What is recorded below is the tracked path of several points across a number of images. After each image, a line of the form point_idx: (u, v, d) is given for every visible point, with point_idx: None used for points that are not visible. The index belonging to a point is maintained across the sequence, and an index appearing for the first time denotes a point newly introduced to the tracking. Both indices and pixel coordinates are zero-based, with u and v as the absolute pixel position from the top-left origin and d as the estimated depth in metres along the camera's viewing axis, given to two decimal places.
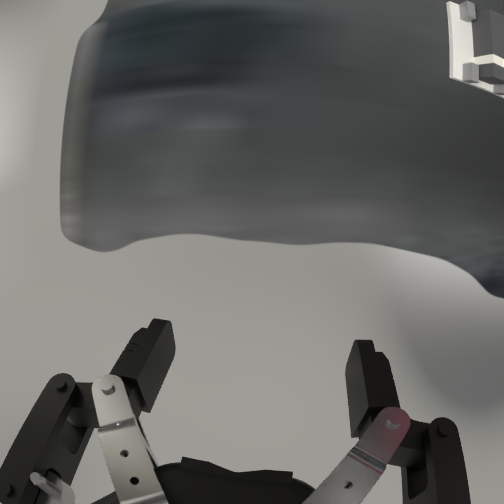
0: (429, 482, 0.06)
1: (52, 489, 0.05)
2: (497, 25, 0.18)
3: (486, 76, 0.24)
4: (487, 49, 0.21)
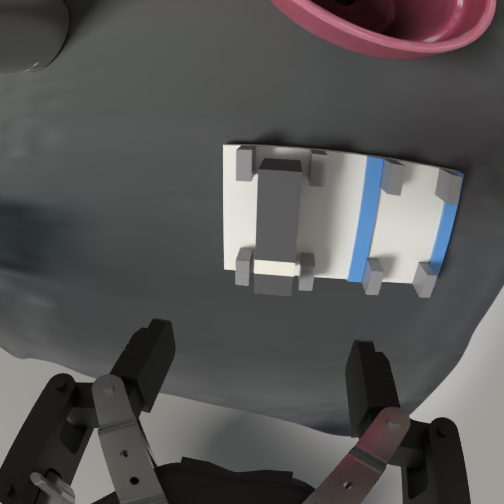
0: (429, 482, 0.06)
1: (52, 489, 0.05)
2: (274, 200, 0.21)
3: None
4: None
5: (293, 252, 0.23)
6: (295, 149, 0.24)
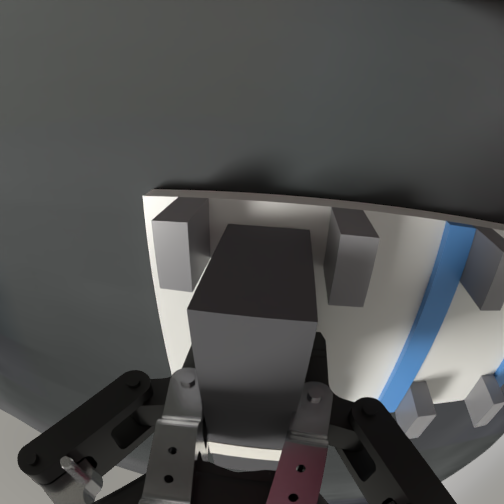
0: (376, 463, 0.07)
1: (79, 476, 0.06)
2: (238, 375, 0.08)
3: None
4: None
5: (284, 440, 0.10)
6: (297, 206, 0.11)
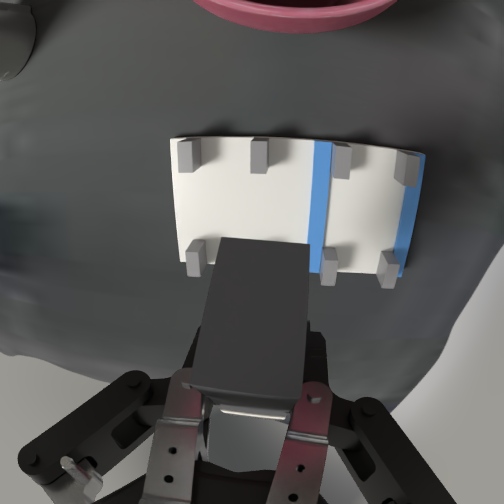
0: (376, 463, 0.07)
1: (79, 476, 0.06)
2: (238, 401, 0.09)
3: None
4: None
5: (282, 415, 0.12)
6: (239, 138, 0.24)
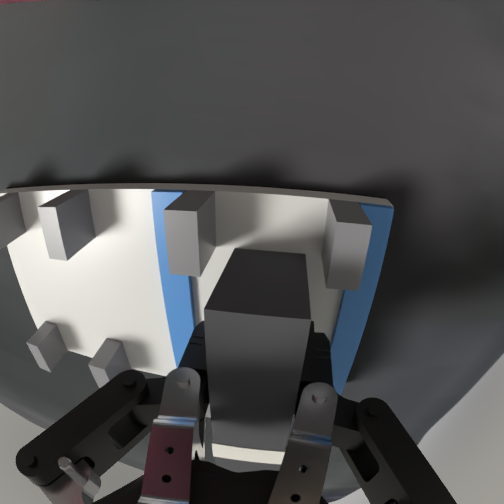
0: (380, 464, 0.07)
1: (78, 476, 0.06)
2: (243, 371, 0.09)
3: None
4: None
5: (283, 440, 0.10)
6: (54, 192, 0.13)
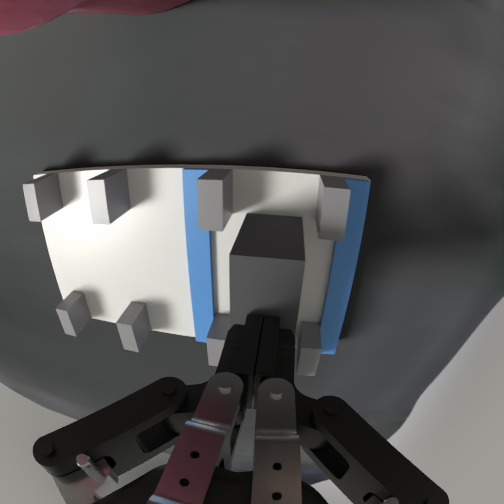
0: (349, 461, 0.07)
1: (94, 474, 0.06)
2: (257, 302, 0.13)
3: None
4: None
5: None
6: (94, 171, 0.16)
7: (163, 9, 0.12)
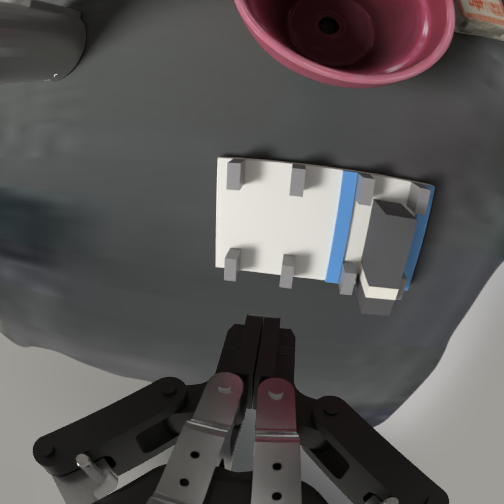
0: (349, 461, 0.07)
1: (94, 474, 0.06)
2: (393, 240, 0.24)
3: (359, 302, 0.29)
4: (368, 271, 0.27)
5: (399, 280, 0.26)
6: (279, 163, 0.28)
7: None
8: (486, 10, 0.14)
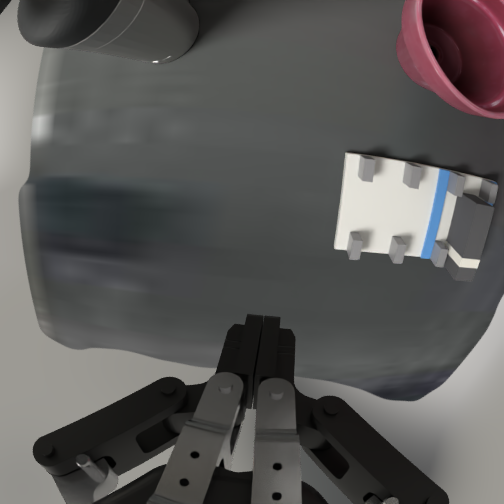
0: (349, 461, 0.07)
1: (94, 474, 0.06)
2: (479, 222, 0.28)
3: (449, 272, 0.33)
4: (459, 247, 0.31)
5: (480, 253, 0.29)
6: (395, 161, 0.31)
7: None
8: None
